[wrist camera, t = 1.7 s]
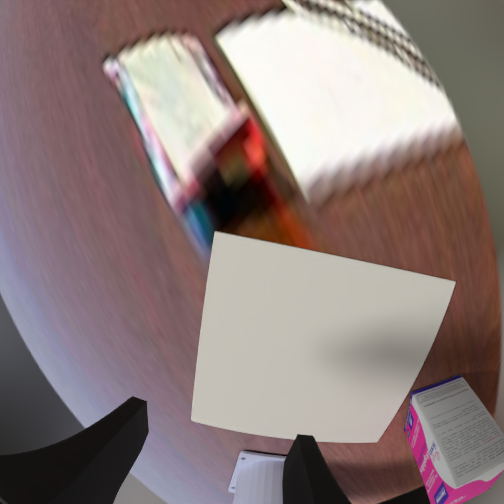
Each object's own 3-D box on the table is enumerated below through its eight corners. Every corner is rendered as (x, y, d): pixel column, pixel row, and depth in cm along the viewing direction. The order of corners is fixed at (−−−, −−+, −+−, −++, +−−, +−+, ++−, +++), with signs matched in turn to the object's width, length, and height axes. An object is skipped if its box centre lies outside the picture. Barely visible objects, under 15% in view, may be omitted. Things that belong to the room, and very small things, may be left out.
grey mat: (376, 440, 21) (377, 442, 21) (191, 418, 22) (190, 420, 22) (453, 280, 17) (455, 281, 17) (215, 231, 18) (214, 231, 18)
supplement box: (408, 391, 20) (457, 487, 9) (460, 372, 19) (520, 449, 8) (400, 431, 21) (434, 518, 10) (449, 413, 20) (492, 487, 9)
